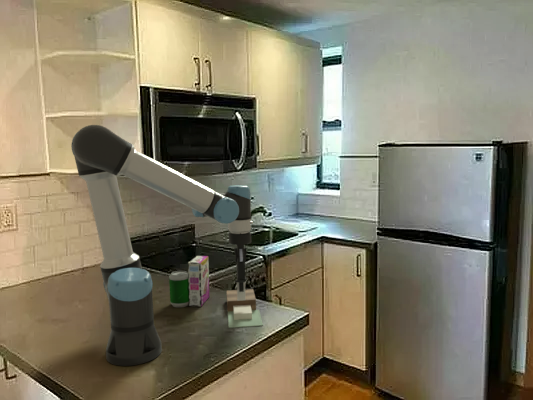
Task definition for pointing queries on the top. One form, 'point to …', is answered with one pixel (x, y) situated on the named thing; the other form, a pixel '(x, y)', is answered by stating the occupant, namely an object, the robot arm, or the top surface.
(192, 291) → the candy bar box
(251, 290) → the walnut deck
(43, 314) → the top surface
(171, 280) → the soda can
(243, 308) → the ivory tile
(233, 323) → the sage mat
